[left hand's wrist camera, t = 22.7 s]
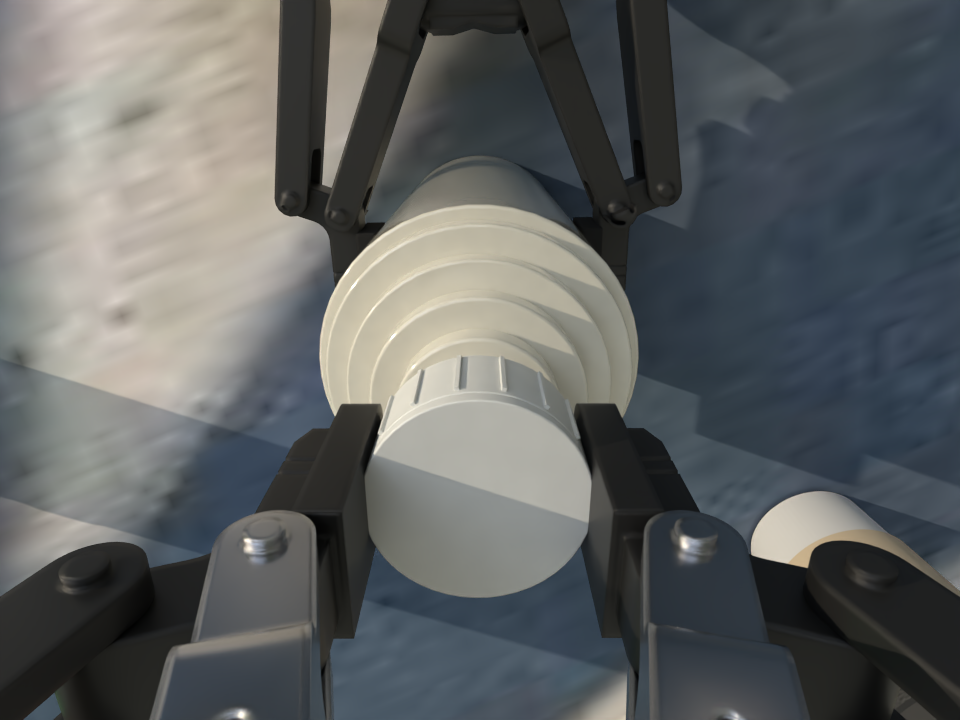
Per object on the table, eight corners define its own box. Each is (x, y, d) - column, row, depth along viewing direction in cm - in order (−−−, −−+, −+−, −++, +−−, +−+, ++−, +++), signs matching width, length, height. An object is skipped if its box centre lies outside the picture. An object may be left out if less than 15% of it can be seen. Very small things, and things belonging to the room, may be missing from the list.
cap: (425, 553, 13) (415, 624, 11) (342, 394, 12) (317, 446, 10) (605, 496, 12) (625, 561, 11) (540, 323, 11) (552, 363, 9)
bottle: (577, 173, 31) (786, 310, 10) (539, 327, 33) (636, 689, 12) (414, 139, 30) (258, 205, 9) (390, 298, 33) (230, 627, 12)
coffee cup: (913, 532, 38) (1163, 776, 24) (795, 619, 41) (959, 885, 27) (820, 447, 36) (1036, 660, 22) (701, 545, 38) (828, 792, 25)
